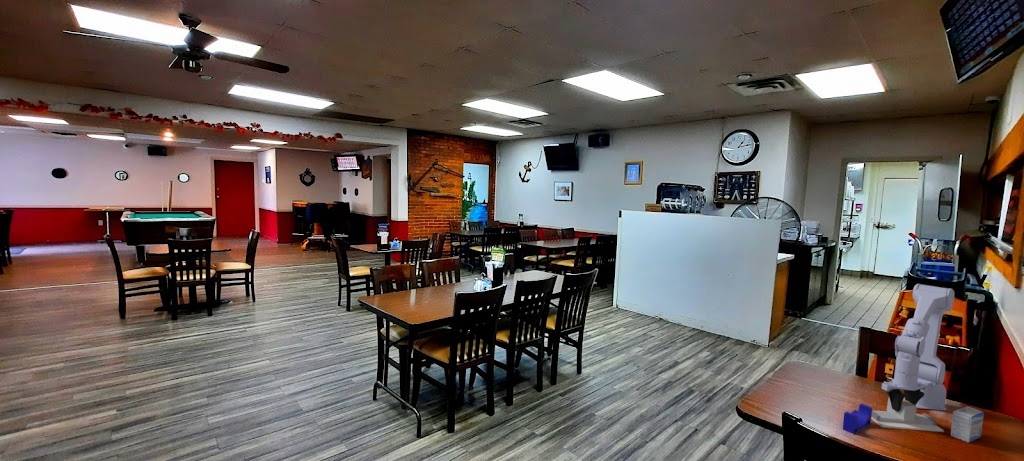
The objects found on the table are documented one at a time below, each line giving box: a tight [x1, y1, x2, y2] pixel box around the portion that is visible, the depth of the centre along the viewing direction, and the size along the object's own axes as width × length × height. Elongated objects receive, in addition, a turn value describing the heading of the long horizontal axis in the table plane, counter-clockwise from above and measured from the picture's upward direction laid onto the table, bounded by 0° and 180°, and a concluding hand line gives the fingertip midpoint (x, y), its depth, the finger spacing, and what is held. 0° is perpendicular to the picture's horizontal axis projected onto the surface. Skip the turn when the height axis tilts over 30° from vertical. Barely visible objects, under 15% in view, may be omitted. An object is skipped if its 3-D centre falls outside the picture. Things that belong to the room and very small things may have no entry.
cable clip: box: [842, 403, 873, 435], centre depth 141 cm, size 12×4×6 cm, turn 119°
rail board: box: [871, 409, 945, 433], centre depth 144 cm, size 18×10×2 cm, turn 82°
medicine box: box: [950, 405, 985, 444], centre depth 135 cm, size 8×4×9 cm, turn 114°
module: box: [886, 397, 918, 421], centre depth 144 cm, size 4×6×5 cm
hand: (902, 410), depth 144 cm, fingers open, 4 cm apart
